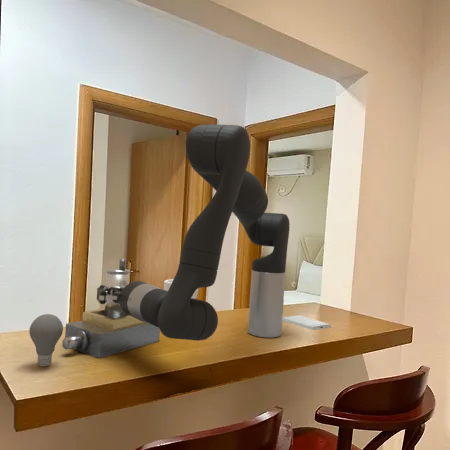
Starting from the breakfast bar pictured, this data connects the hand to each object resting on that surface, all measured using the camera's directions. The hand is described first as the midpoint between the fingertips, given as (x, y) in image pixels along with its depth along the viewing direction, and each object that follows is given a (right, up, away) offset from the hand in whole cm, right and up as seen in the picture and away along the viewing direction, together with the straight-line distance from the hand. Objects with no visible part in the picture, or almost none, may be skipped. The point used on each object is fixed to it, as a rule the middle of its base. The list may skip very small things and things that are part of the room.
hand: (112, 288), depth 100 cm
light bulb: (-8, -12, -19) cm, 24 cm away
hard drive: (+52, -16, +30) cm, 62 cm away
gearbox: (0, -12, -4) cm, 13 cm away
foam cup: (+14, -13, +14) cm, 24 cm away
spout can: (+1, -7, -2) cm, 7 cm away
